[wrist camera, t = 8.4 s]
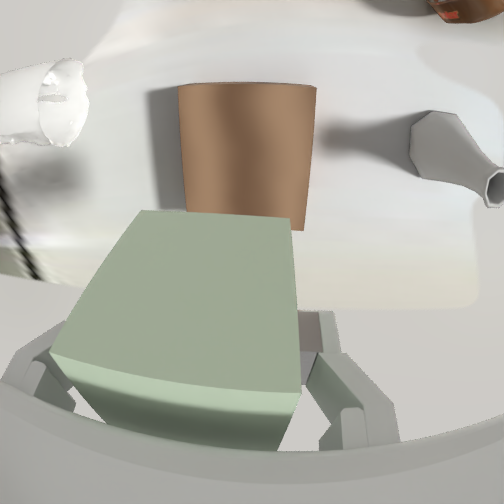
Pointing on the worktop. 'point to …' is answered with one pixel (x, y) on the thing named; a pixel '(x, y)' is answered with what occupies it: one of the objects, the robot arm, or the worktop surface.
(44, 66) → the white plastic bottle
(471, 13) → the tin
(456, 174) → the flask
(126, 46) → the worktop surface
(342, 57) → the worktop surface
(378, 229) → the worktop surface
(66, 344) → the sage block
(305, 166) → the brown block
